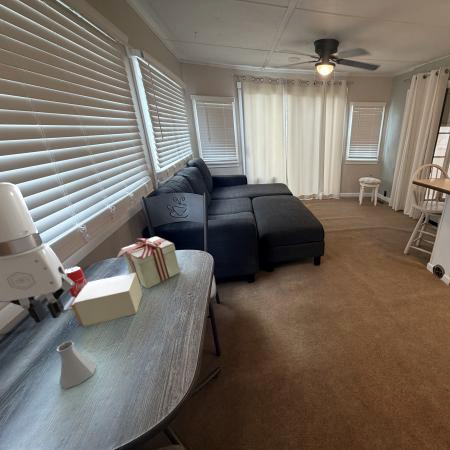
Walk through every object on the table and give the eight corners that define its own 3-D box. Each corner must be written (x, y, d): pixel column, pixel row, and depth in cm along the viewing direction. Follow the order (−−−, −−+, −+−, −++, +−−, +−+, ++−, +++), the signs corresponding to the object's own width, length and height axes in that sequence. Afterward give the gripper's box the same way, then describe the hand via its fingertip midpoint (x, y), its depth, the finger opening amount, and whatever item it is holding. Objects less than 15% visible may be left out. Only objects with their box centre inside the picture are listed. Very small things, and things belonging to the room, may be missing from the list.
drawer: (63, 328, 76) (54, 308, 73) (78, 306, 86) (70, 288, 83) (128, 312, 82) (121, 293, 80) (134, 293, 92) (129, 276, 89)
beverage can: (88, 290, 96) (78, 264, 92) (93, 295, 93) (82, 268, 89) (72, 297, 92) (60, 270, 88) (75, 302, 89) (63, 275, 85)
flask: (95, 357, 67) (82, 330, 63) (98, 375, 62) (85, 345, 58) (59, 375, 62) (44, 346, 58) (60, 395, 57) (43, 364, 53)
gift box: (120, 283, 100) (107, 246, 94) (162, 263, 115) (153, 231, 109) (143, 295, 93) (131, 256, 87) (185, 272, 108) (177, 237, 102)
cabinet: (84, 326, 78) (73, 302, 74) (97, 303, 89) (88, 281, 85) (136, 313, 83) (128, 290, 80) (142, 293, 94) (136, 272, 90)
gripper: (-60, 261, 42) (-10, 340, 49) (56, 244, 48) (87, 316, 55) (-27, 244, 49) (13, 316, 55) (72, 231, 55) (98, 297, 61)
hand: (50, 315), depth 55 cm, fingers closed
